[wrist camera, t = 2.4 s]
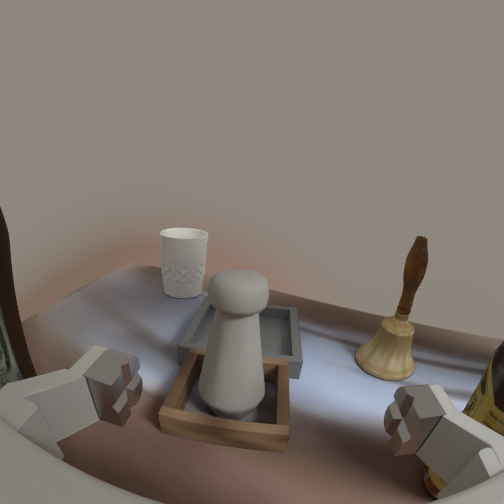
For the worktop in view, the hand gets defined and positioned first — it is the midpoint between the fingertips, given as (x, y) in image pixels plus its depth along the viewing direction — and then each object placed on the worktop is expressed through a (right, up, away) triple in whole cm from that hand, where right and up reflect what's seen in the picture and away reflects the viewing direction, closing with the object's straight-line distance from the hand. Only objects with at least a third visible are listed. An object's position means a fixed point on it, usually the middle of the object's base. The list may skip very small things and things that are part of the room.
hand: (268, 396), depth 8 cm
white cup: (-12, -3, +40) cm, 42 cm away
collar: (-2, -10, +16) cm, 19 cm away
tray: (-1, -7, +27) cm, 28 cm away
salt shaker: (-2, -10, +16) cm, 19 cm away
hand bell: (+16, -10, +23) cm, 30 cm away
